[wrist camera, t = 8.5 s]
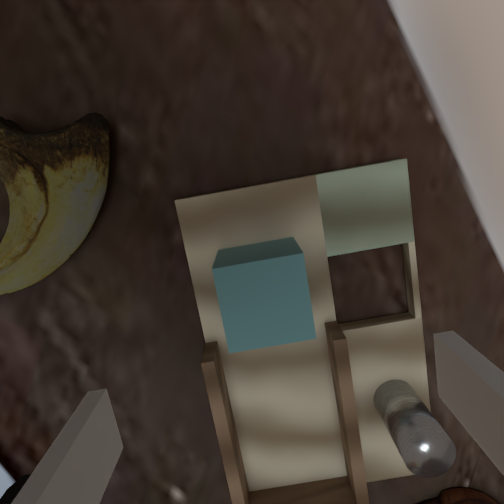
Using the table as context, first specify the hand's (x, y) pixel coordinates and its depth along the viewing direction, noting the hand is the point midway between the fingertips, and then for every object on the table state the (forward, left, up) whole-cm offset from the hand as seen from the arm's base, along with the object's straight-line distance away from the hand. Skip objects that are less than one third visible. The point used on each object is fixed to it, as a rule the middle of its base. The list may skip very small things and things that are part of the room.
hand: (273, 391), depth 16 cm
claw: (-6, -18, -20) cm, 28 cm away
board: (+7, +4, -18) cm, 20 cm away
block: (0, 0, -17) cm, 17 cm away
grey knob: (+13, +10, -17) cm, 23 cm away
